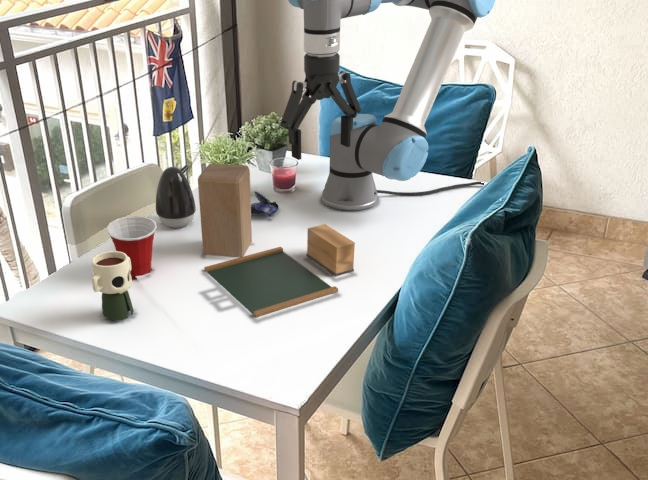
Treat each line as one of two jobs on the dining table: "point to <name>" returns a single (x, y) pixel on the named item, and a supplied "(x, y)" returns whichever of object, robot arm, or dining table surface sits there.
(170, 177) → the black egg-shaped piece
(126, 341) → the dining table surface
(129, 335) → the dining table surface
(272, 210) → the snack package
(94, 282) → the character mug
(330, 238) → the eraser
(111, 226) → the plastic cup
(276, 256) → the chalkboard
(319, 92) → the robot arm
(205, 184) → the block
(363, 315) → the dining table surface
